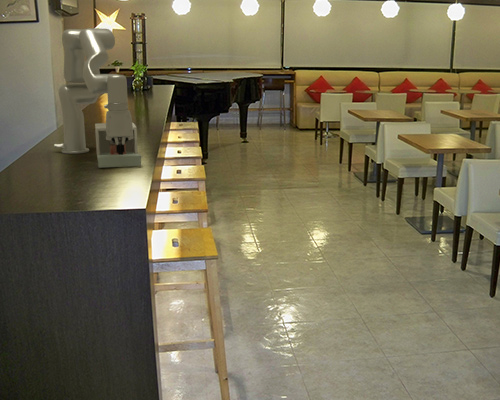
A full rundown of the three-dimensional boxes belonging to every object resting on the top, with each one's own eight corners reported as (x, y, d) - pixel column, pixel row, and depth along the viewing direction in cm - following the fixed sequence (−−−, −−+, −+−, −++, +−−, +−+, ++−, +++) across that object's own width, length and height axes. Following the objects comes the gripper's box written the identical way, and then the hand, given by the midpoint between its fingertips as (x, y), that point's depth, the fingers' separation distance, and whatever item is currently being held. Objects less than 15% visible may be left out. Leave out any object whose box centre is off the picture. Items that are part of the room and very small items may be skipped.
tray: (141, 165, 244) (141, 155, 243) (98, 167, 240) (98, 157, 239) (137, 157, 263) (136, 148, 262) (97, 159, 259) (96, 149, 258)
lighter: (123, 157, 256) (122, 134, 254) (128, 158, 254) (127, 135, 252) (108, 160, 250) (107, 136, 248) (113, 161, 248) (112, 137, 245)
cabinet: (138, 160, 260) (136, 127, 256) (97, 162, 255) (95, 128, 252) (134, 153, 277) (133, 122, 273) (96, 155, 272) (95, 123, 269)
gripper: (98, 108, 226) (101, 156, 230) (138, 107, 230) (140, 155, 234) (98, 107, 233) (100, 153, 237) (136, 106, 237) (139, 152, 241)
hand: (120, 154), depth 235 cm, fingers closed
